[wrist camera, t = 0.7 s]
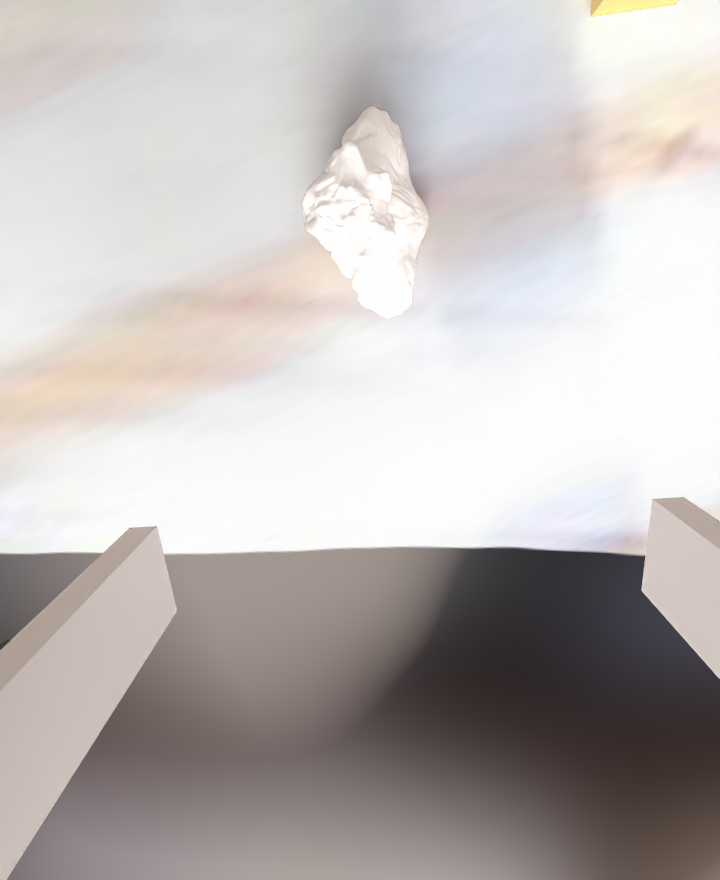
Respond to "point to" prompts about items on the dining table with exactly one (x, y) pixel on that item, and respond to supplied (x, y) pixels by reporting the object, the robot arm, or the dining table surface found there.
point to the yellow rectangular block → (625, 5)
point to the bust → (370, 213)
